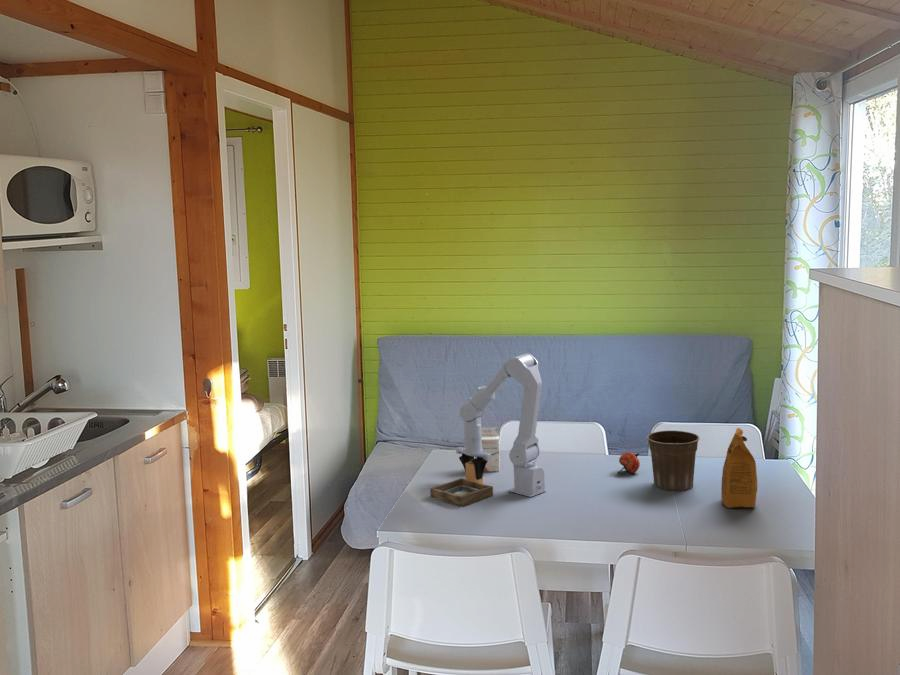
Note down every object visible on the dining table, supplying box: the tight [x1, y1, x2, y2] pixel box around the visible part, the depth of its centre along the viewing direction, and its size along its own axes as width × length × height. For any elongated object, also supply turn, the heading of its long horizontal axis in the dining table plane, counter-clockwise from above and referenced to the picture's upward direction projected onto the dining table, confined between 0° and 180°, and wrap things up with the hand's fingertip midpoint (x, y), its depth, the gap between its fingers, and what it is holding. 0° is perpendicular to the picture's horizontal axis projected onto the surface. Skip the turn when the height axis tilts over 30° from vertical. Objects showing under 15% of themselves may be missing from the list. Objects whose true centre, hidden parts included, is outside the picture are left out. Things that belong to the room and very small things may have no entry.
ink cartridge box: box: [474, 427, 501, 472], centre depth 298 cm, size 9×5×15 cm, turn 84°
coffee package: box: [720, 427, 758, 509], centre depth 252 cm, size 10×12×22 cm
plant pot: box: [646, 430, 700, 492], centre depth 272 cm, size 16×16×16 cm
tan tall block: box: [465, 457, 484, 484], centre depth 284 cm, size 4×4×8 cm
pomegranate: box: [617, 452, 641, 474], centre depth 288 cm, size 7×7×10 cm
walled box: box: [429, 478, 494, 508], centre depth 270 cm, size 14×14×3 cm
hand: (474, 477), depth 284 cm, fingers closed on tan tall block, 4 cm apart
